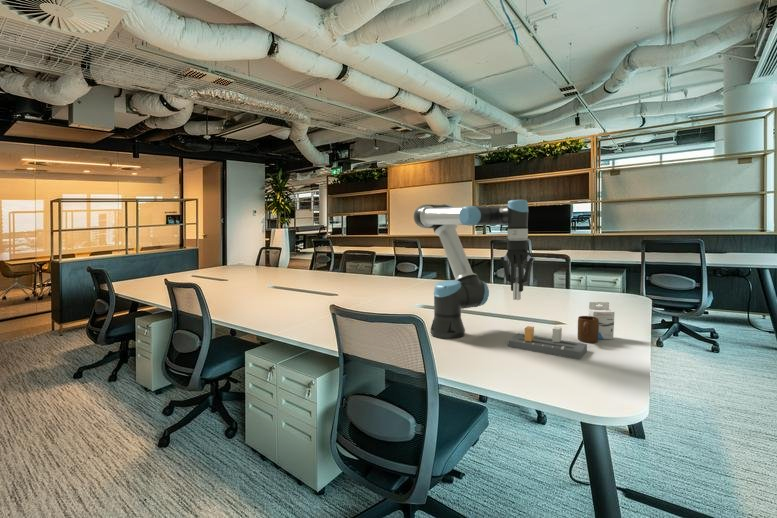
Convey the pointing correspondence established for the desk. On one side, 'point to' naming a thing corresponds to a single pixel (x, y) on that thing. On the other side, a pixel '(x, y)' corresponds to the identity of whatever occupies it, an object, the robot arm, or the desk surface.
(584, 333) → the mug
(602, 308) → the ink box
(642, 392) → the desk surface
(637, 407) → the desk surface
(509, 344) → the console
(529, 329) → the fader tab
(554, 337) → the fader far
